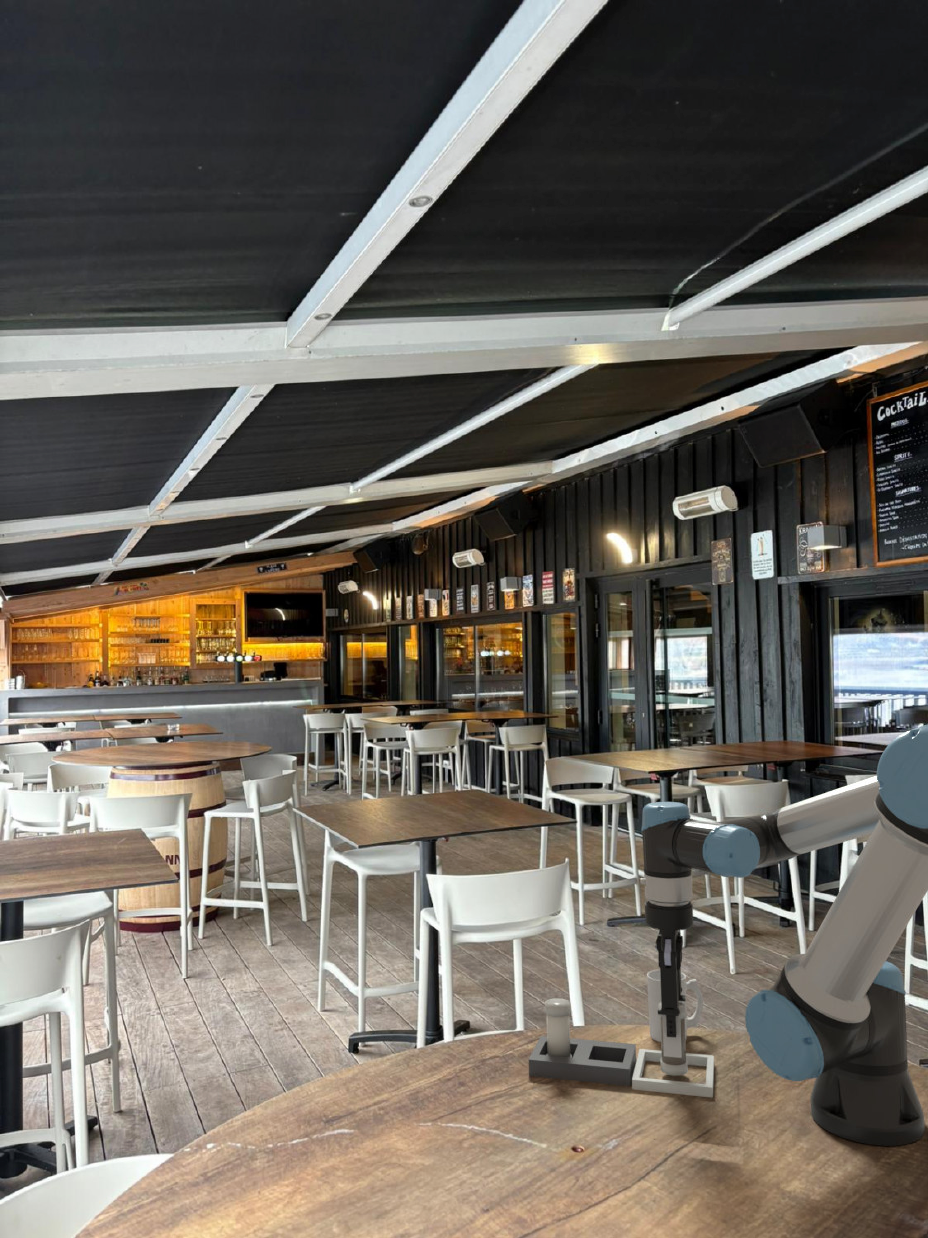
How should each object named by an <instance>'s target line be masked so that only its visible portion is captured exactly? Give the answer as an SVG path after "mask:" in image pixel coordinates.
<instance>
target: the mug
mask: <svg viewBox="0 0 928 1238" xmlns="http://www.w3.org/2000/svg"><path fill="white" fill-rule="evenodd" d="M646 976H647V977H646V979H647V981H646V984H647V986H646V987H647V1000H648V1001H647V1002H648V1003H647V1004H648V1021H649V1036H650V1038H651V1039H653V1040H654V1041H655V1042H659V1043H661V1024H660V1016H659V1014H658V1010H659V1003H661V978H660V968H659V969H654V970H650V971H648V972H647V973H646ZM686 978H687V975H686V974H685V973H684V972H682V971H681V987H682V992H681V995H686V996H687V991H688V990H692V992H694V994H695V996H696V1006H695V1007H696V1008H695V1011H694V1012H693V1014H692V1015H691V1016H690V1017H687V1016H688V1015H687V1011H686V1017H685V1041H687V1039H688V1035H687V1034H688V1029H689V1028H692V1027H693V1028H694V1027H695V1028H696V1027H698V1025H699V1023H700V1022H699V1021H700V1020H701V1016H702V1012H703V1008H704V997H703V996H704V995H703V993H702V990H701V988H700V986H699V983H698V980H697V979H696V978H693V979H688V981H687V979H686ZM679 1002H681V1003H683V1004H685V1006H686V1007H687V1000H686V1001H679Z"/></svg>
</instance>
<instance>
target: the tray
mask: <svg viewBox="0 0 928 1238" xmlns="http://www.w3.org/2000/svg"><path fill="white" fill-rule="evenodd" d="M637 1053H638V1054H637V1056H636V1063H635V1067H634V1071H633V1075H632V1079H631V1083H632V1084H631V1085H632V1086H631V1087H632V1088H631V1089H632V1090H636V1091H644V1092H645V1091H646V1092H655V1093H656V1092H657V1093H664V1094H676V1095H683V1096H695V1097H705V1098H714V1082H715V1081H714V1080H715V1079H714V1078H715V1077H714V1076H715V1056H714V1055H711V1054H701V1053H689V1052H686V1059H687V1062H688V1066H696V1067H697V1066H698V1067H706V1075H705V1078H706V1079H705V1083H698V1082H688V1081H679V1080H678V1081H677V1080H669V1079H668V1080H667V1079H657V1078H647V1077H643V1073H644V1069H645V1064H646V1062H655V1063H661V1062H660V1059H661V1057H662V1054H661V1050H657V1049H647V1048H639V1050H638V1052H637Z"/></svg>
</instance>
